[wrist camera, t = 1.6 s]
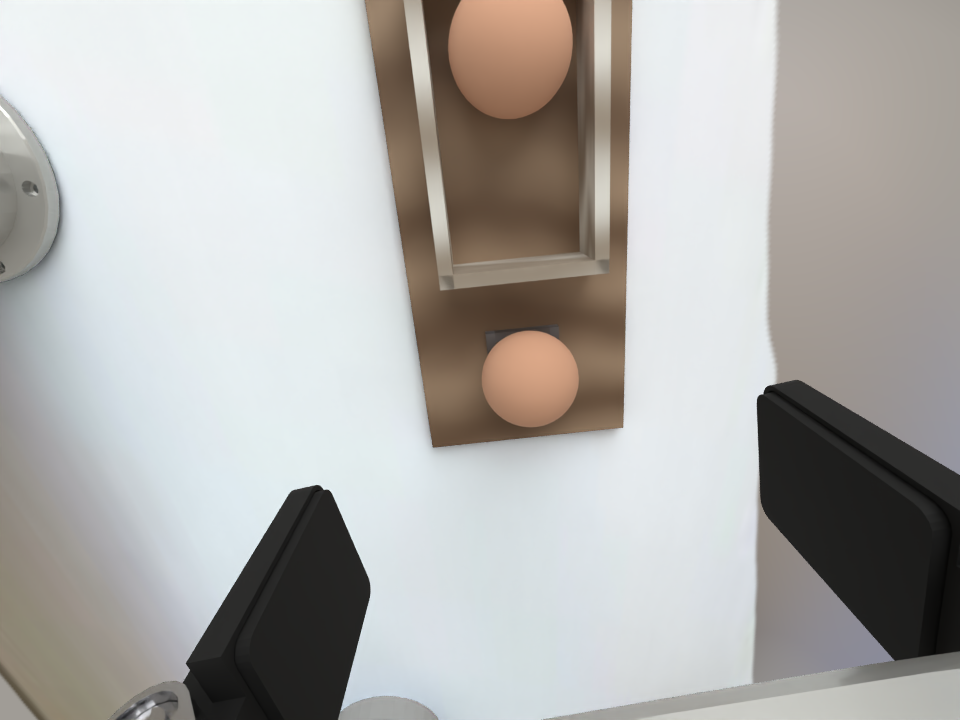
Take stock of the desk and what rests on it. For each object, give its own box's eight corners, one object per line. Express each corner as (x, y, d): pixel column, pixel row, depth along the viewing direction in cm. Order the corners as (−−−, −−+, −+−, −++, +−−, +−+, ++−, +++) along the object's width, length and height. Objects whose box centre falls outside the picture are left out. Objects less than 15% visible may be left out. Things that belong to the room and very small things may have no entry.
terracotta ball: (528, 415, 33) (543, 463, 27) (461, 369, 31) (462, 409, 26) (584, 352, 31) (612, 389, 26) (517, 301, 30) (530, 328, 24)
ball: (512, 149, 27) (526, 139, 21) (427, 75, 25) (418, 44, 20) (580, 53, 25) (616, 16, 20) (495, -31, 24) (506, -98, 18)
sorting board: (618, 420, 35) (641, 453, 30) (433, 440, 34) (430, 475, 30) (627, -90, 24) (663, -148, 20) (357, -64, 24) (336, -117, 20)
